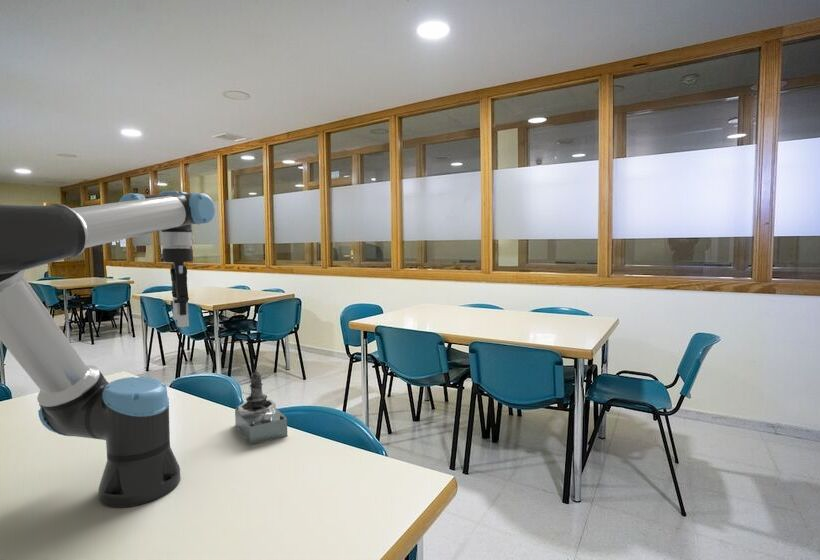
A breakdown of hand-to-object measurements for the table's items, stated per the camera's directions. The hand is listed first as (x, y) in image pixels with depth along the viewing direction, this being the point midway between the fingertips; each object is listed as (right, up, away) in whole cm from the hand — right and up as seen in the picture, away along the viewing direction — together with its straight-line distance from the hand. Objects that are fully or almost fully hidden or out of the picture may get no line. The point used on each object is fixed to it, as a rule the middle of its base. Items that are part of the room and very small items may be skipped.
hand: (180, 323), depth 123 cm
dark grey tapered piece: (+20, -26, +3) cm, 33 cm away
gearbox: (+22, -31, +1) cm, 38 cm away
